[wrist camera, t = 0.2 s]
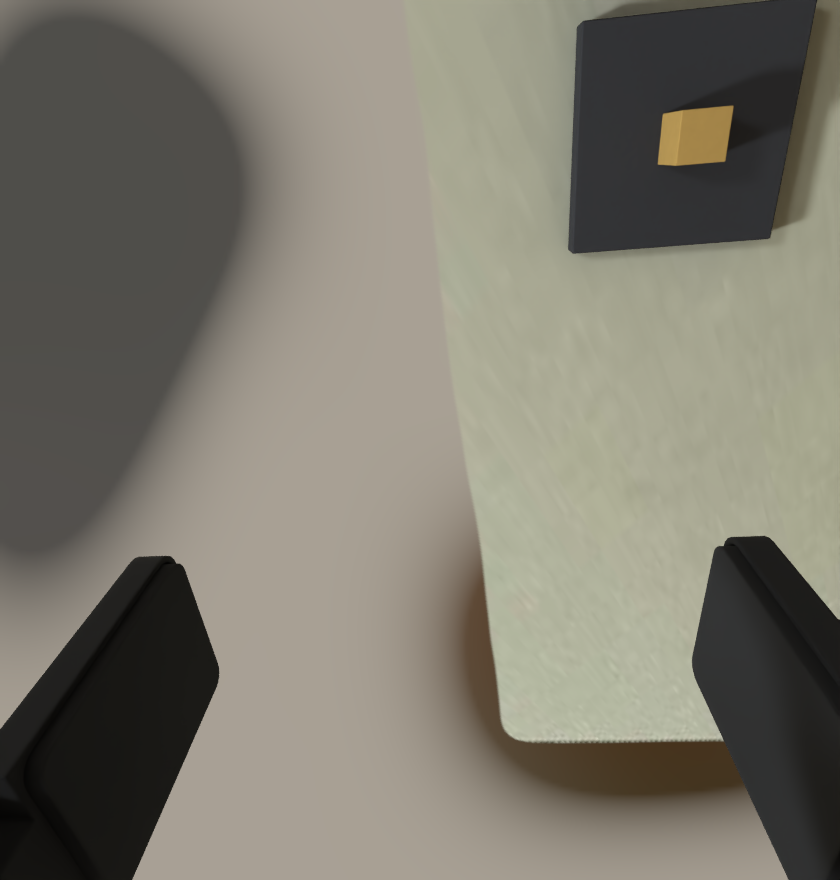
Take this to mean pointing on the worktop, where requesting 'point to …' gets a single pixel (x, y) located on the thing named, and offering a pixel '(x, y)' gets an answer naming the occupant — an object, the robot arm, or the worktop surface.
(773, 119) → the charcoal stud pad
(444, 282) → the worktop surface
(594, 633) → the worktop surface
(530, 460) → the worktop surface
